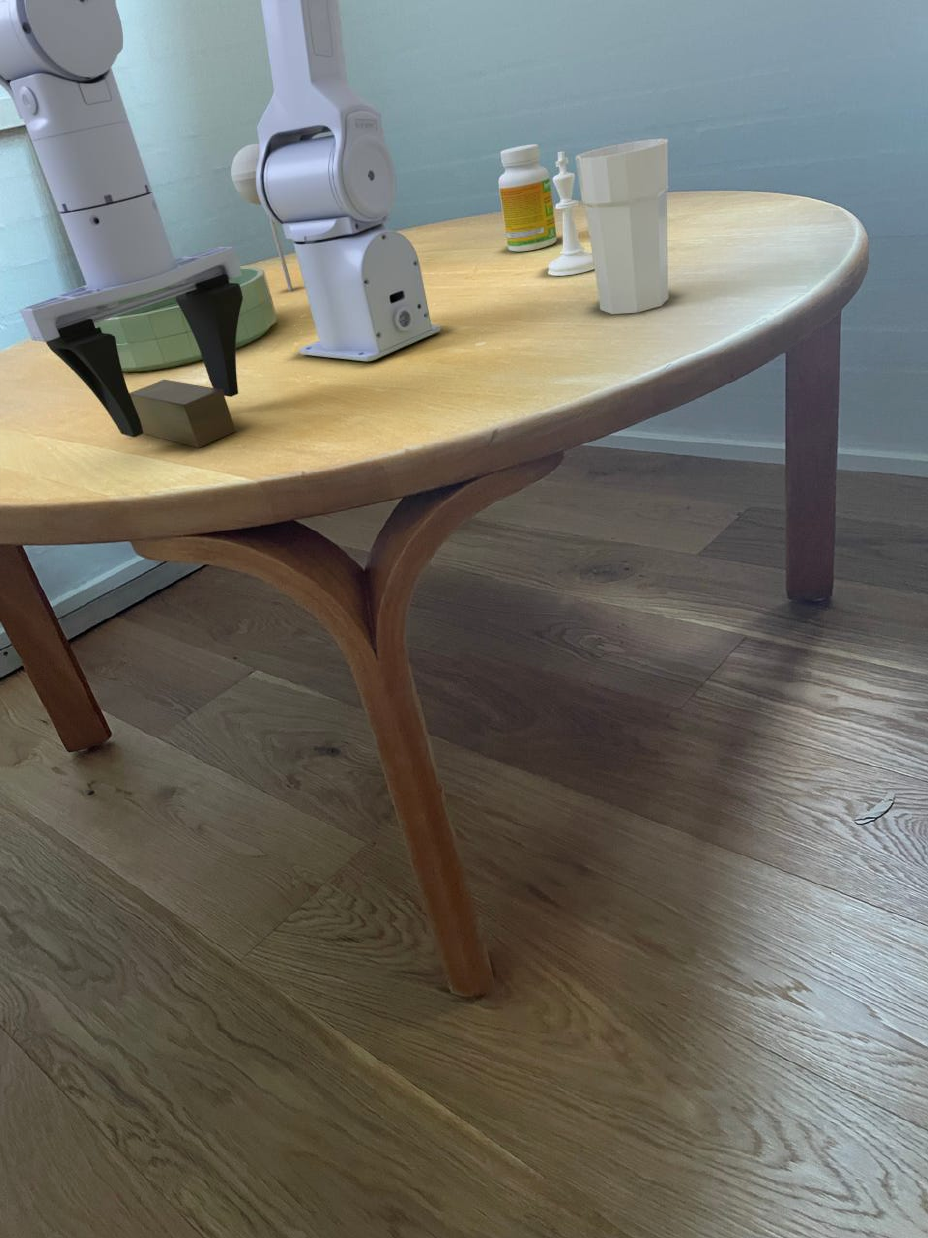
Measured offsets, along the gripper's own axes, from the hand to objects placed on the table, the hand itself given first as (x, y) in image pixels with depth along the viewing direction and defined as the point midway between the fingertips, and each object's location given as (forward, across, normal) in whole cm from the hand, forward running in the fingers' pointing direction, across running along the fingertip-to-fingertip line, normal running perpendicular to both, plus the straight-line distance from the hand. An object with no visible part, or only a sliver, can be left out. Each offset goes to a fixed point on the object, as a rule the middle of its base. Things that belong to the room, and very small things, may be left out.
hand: (181, 413), depth 63 cm
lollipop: (+2, -33, -33) cm, 47 cm away
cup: (+2, -32, +15) cm, 35 cm away
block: (+1, 0, 0) cm, 1 cm away
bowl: (+1, -15, -25) cm, 29 cm away
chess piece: (+2, -42, +1) cm, 42 cm away
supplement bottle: (+2, -51, -12) cm, 52 cm away
